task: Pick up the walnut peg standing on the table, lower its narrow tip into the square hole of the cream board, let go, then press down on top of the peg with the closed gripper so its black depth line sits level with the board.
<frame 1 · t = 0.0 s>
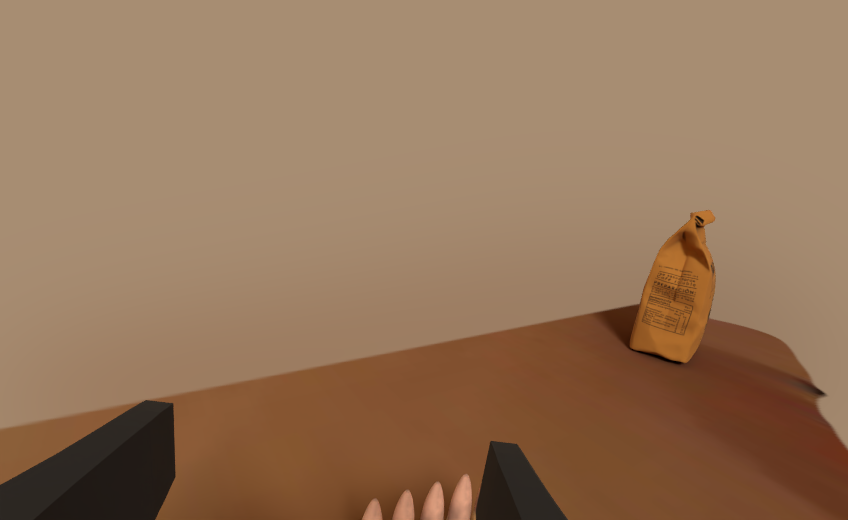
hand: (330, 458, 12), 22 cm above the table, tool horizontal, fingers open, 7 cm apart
coffee package: (663, 350, 83), on the table
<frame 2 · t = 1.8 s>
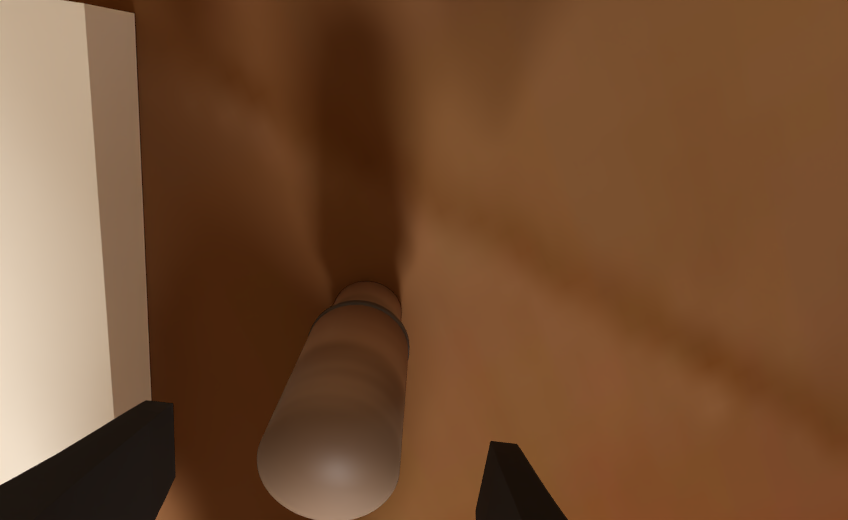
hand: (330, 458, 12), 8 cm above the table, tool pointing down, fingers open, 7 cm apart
walnut peg: (367, 312, 19), on the table
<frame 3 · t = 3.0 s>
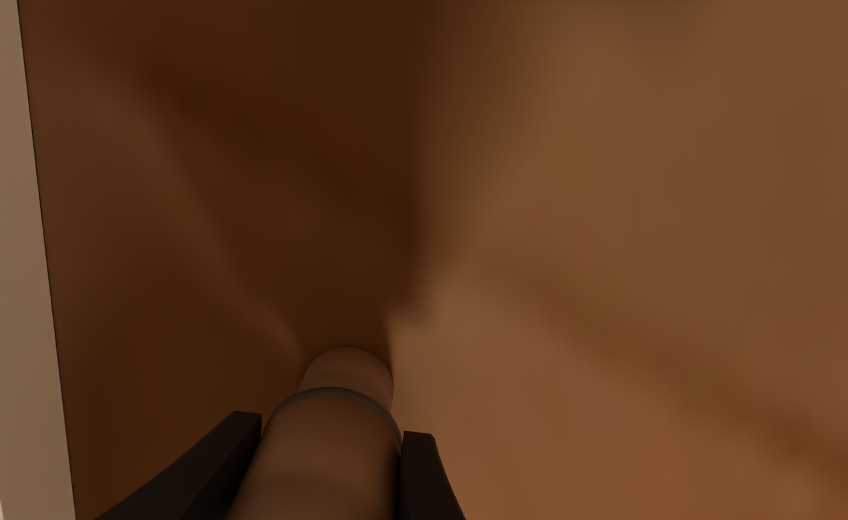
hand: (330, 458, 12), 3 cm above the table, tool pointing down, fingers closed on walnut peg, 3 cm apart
walnut peg: (348, 386, 15), on the table, touching gripper
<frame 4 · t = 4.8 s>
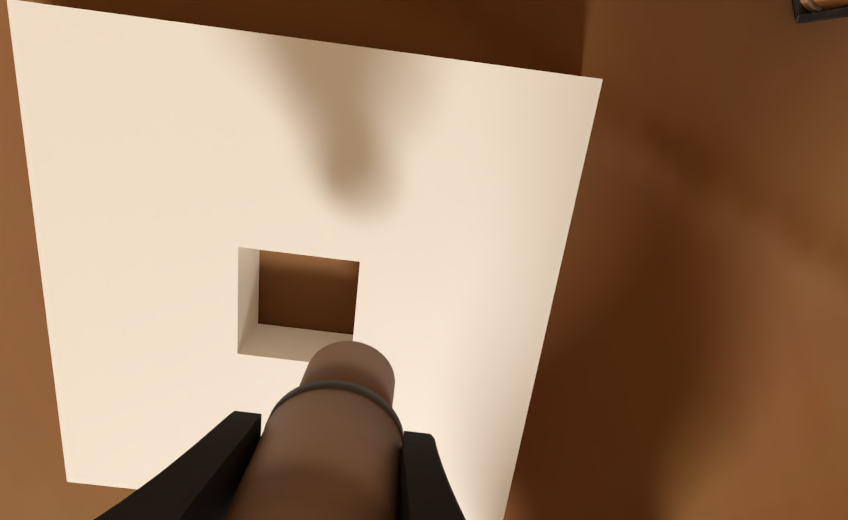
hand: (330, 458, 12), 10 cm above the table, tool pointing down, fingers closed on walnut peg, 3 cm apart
walnut peg: (350, 380, 15), point 7 cm above the table, touching gripper
cream board: (311, 283, 21), on the table
when the fingers open (4 cm above the table, at t = 6.8 s): walnut peg stays where it is, resting in cream board.
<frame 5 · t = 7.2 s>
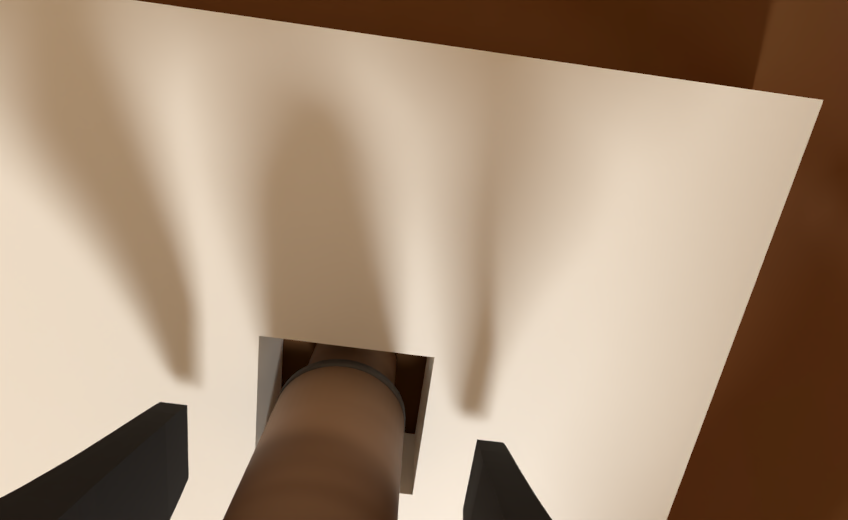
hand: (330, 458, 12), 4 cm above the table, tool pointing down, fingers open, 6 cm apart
walnut peg: (354, 363, 16), resting in cream board
cream board: (353, 367, 16), on the table
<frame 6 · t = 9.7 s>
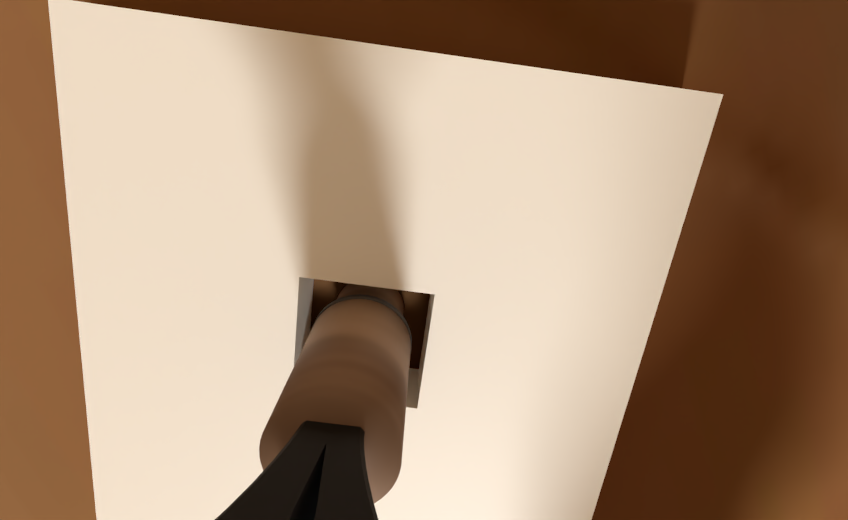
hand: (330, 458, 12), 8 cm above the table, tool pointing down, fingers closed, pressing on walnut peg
walnut peg: (370, 308, 19), resting in cream board, touching gripper
cream board: (369, 312, 19), on the table
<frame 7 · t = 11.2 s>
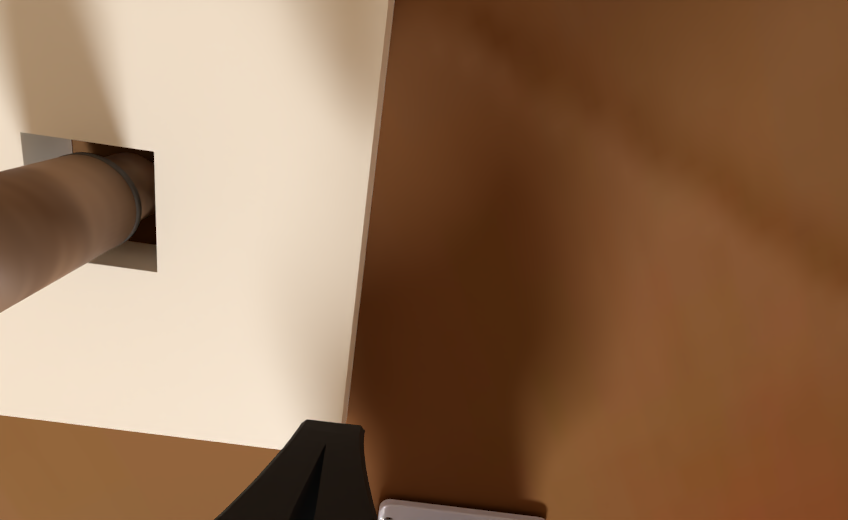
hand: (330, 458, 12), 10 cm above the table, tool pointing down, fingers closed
walnut peg: (131, 185, 20), resting in cream board
cream board: (131, 189, 20), on the table
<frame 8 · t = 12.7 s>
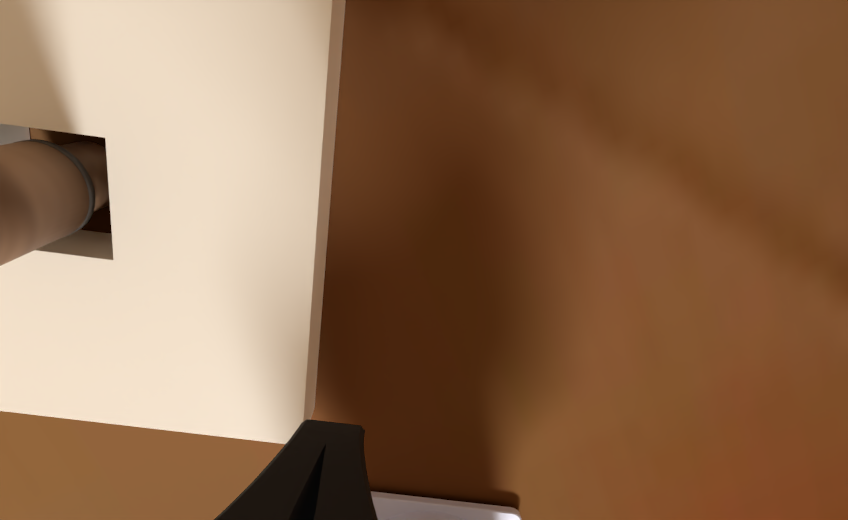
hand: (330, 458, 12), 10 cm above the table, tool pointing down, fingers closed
walnut peg: (91, 175, 20), resting in cream board
cream board: (90, 178, 20), on the table
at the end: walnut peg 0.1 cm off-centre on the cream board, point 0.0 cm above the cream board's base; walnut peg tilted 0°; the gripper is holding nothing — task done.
